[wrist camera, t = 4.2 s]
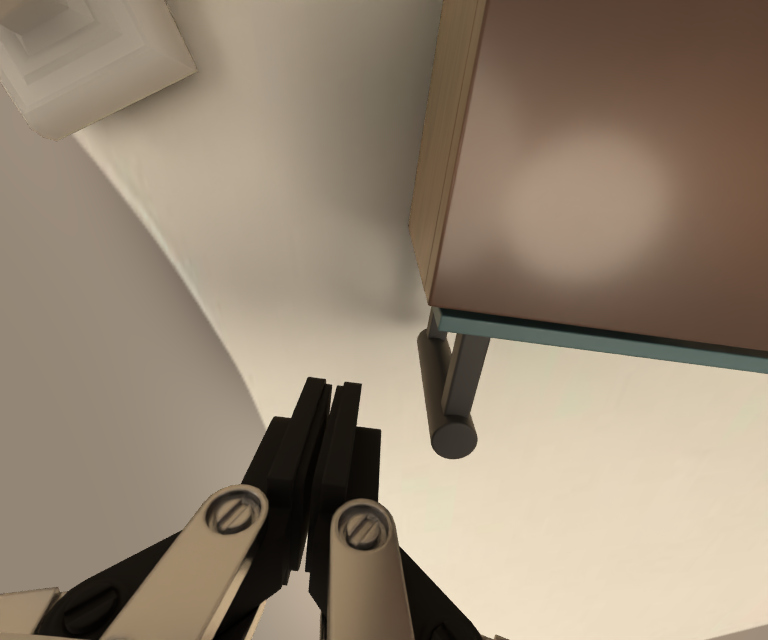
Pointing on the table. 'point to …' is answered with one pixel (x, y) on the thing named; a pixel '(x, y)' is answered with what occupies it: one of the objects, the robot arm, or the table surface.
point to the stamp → (86, 58)
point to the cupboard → (599, 166)
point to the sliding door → (463, 367)
